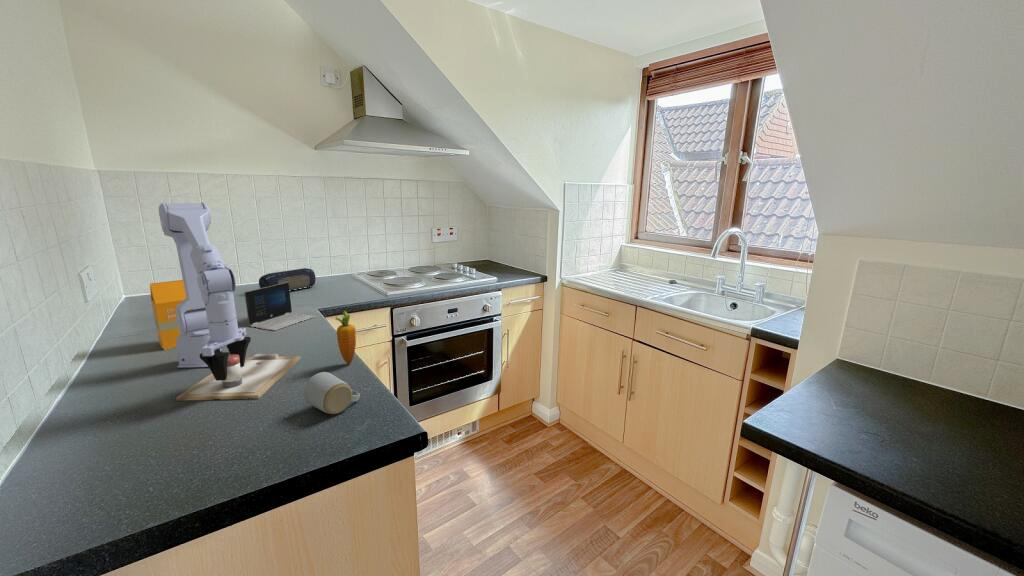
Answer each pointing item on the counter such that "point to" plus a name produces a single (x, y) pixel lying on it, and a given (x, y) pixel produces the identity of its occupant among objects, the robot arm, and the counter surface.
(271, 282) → the portable speaker
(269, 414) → the counter surface
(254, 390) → the clipboard
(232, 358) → the marker
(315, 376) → the ceramic mug
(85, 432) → the counter surface
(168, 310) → the orange juice
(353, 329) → the carrot
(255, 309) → the laptop
